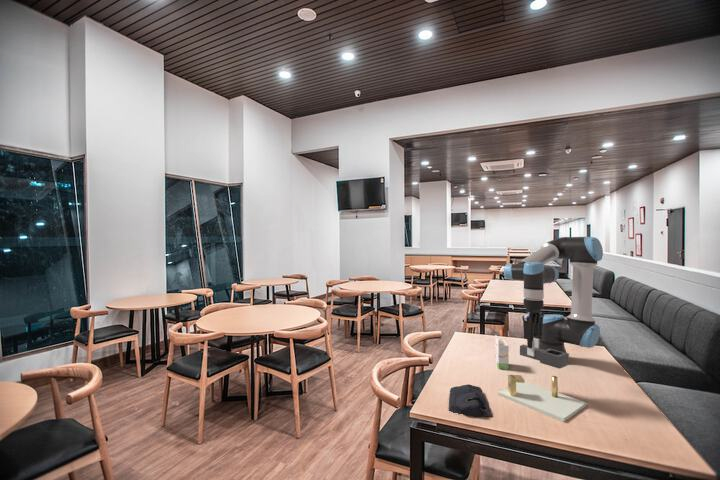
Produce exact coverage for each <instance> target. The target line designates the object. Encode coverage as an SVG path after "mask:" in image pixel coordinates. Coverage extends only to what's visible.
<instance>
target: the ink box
mask: <svg viewBox="0 0 720 480" xmlns="http://www.w3.org/2000/svg"><path fill="white" fill-rule="evenodd" d="M494 341H495V342H494V344H495V346H494V349H495V354H494V355H495V358H494V359H495V360H494V361H495V362H494V363H495V364H496V367H497V368H498V370H499V369H500V370H510V368H509V365H510V364H509V351H510V350H509V348H510V346H509V345H508V343H507V341H506V340H500V338H499V337H498V336H497V335H496V334H495V339H494Z"/></svg>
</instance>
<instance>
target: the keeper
mask: <svg viewBox="0 0 720 480" xmlns="http://www.w3.org/2000/svg"><path fill="white" fill-rule="evenodd" d="M525 381H526V380H525V379H524V377H523V375H521V374H508V375H507V383H508V384H507V386H508V387H507V388H508V392H509V393H510V395H511V396H516V383H518V382H519V383H525Z"/></svg>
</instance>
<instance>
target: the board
mask: <svg viewBox="0 0 720 480" xmlns="http://www.w3.org/2000/svg"><path fill="white" fill-rule="evenodd" d="M497 395H498V396H500V397H503V398H504V399H507V400H509V401H512V402H514V403H516V404H519V405H521V406H523V407H527V408H528V409H531V410H534V411H536V412H539V413H541V414H544V415H545V416H548V417H551V418H553V419H556V420H558V421H560V422H561V423H562V422H563V423H564V422H566V421H567V420H569V419H570V418H572V417H573V416H575V415H576V414H577V413H578V412H580V411H582V410H583V409H584V408H585V407H587V402H586V401H583V400H580V399H577V398H574V397H571V396H568V395H566V394H563V393H560V392H558V397H557V398H555V397H552V389H549V388H546V387H543V386H540V385H538V384H534V383H532V382H529V381H526V380H525V383H519V382H516V396H511V395H510V393H509V392H508V387H506V388H504V389H502V390H500V391H498V392H497Z"/></svg>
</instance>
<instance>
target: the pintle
mask: <svg viewBox="0 0 720 480" xmlns="http://www.w3.org/2000/svg"><path fill="white" fill-rule="evenodd" d="M558 381H559V380H558V376H556V375H552V376H551V390H552V397H555V398H557V397H558V393H559V392H558V391H559V390H558V389H559V387H558V386H559V385H558V383H559V382H558Z"/></svg>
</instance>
